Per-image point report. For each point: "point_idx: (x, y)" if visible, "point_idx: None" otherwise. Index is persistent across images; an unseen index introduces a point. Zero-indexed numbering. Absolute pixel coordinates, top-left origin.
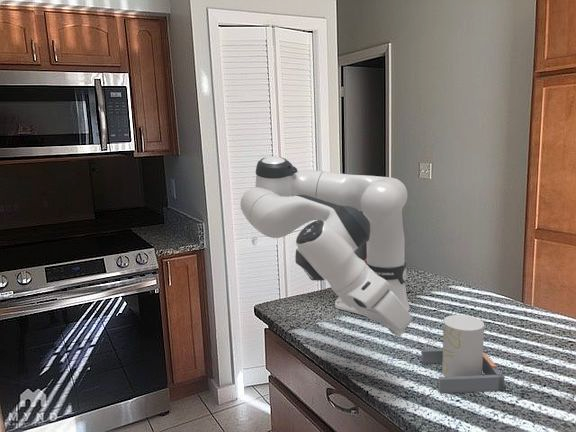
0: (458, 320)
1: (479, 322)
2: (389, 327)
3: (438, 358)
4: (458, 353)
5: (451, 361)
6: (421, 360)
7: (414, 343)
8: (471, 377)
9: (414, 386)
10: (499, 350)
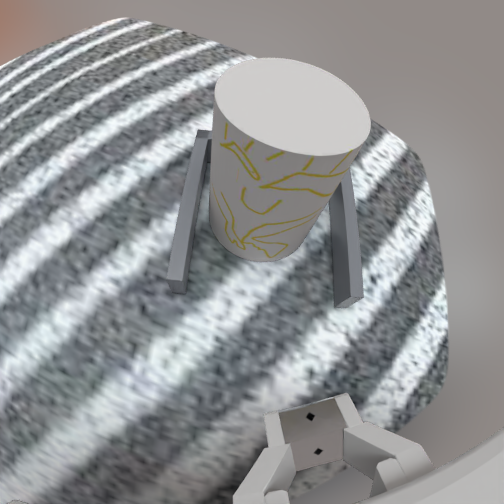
0: (275, 101)
1: (300, 67)
2: (294, 469)
3: (191, 240)
4: (329, 198)
5: (304, 228)
6: (172, 291)
7: (63, 263)
8: (352, 214)
9: (309, 365)
10: (173, 103)
